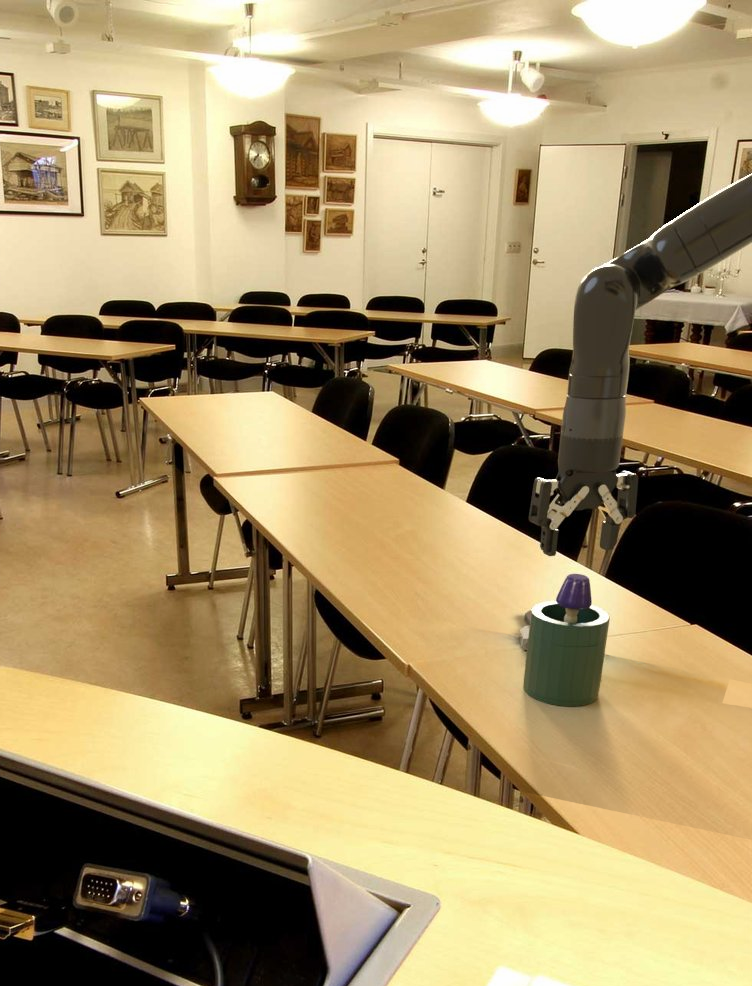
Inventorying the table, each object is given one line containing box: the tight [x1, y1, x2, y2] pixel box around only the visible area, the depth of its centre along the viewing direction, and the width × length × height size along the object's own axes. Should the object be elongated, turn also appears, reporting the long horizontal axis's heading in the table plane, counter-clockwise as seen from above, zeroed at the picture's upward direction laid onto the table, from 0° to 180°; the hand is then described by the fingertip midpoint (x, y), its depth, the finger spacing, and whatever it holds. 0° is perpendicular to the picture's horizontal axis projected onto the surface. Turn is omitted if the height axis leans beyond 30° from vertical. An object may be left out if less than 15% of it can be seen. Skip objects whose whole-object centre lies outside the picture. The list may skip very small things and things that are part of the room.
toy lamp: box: [555, 573, 593, 623], centre depth 128 cm, size 5×5×17 cm
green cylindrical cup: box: [522, 600, 611, 707], centre depth 129 cm, size 10×10×12 cm
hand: (577, 551), depth 123 cm, fingers open, 8 cm apart
